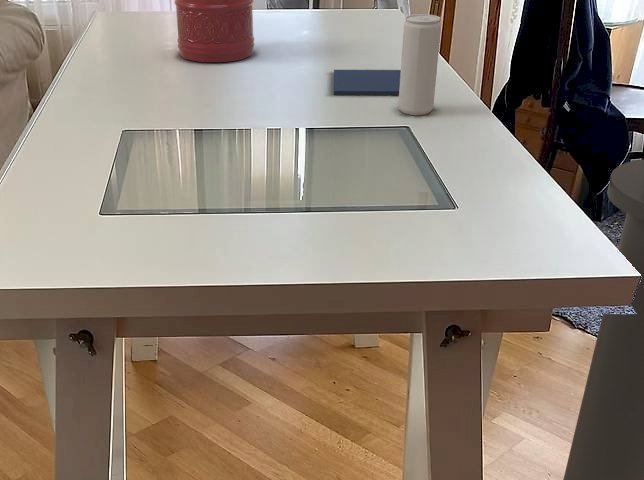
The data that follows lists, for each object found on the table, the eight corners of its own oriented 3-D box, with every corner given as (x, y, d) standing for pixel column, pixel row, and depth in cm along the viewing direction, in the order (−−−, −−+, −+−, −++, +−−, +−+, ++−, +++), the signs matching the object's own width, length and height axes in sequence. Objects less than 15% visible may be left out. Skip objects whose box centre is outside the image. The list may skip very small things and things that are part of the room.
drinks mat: (410, 73, 132) (410, 69, 132) (416, 95, 122) (416, 91, 122) (333, 73, 132) (333, 69, 132) (333, 94, 123) (333, 90, 122)
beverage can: (412, 103, 119) (419, 12, 112) (440, 110, 116) (449, 17, 109) (390, 111, 116) (396, 17, 109) (418, 118, 113) (426, 23, 106)
